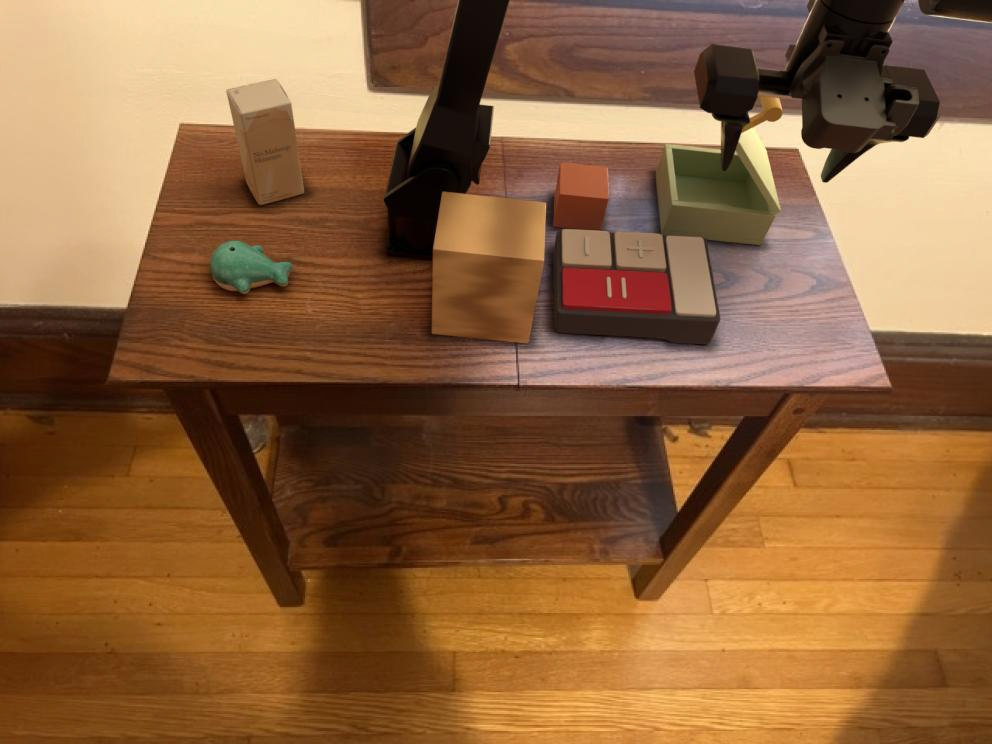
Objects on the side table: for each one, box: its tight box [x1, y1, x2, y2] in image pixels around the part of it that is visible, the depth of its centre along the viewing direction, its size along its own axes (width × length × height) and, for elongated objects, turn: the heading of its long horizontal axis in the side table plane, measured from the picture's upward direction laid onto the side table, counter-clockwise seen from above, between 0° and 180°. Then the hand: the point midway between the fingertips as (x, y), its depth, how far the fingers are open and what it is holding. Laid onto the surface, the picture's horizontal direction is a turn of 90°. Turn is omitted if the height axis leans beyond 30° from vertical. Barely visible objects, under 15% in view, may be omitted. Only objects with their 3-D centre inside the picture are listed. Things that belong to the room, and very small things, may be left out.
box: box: [225, 78, 305, 206], centre depth 73 cm, size 5×4×11 cm
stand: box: [431, 192, 547, 344], centre depth 65 cm, size 9×7×11 cm
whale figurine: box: [209, 240, 294, 295], centre depth 68 cm, size 6×7×4 cm
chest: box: [655, 143, 777, 246], centre depth 79 cm, size 11×10×4 cm
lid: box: [736, 96, 784, 215], centre depth 73 cm, size 11×10×5 cm
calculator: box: [553, 228, 721, 345], centre depth 71 cm, size 11×4×15 cm
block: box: [553, 161, 610, 231], centre depth 77 cm, size 5×5×4 cm
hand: (773, 173), depth 66 cm, fingers open, 9 cm apart
